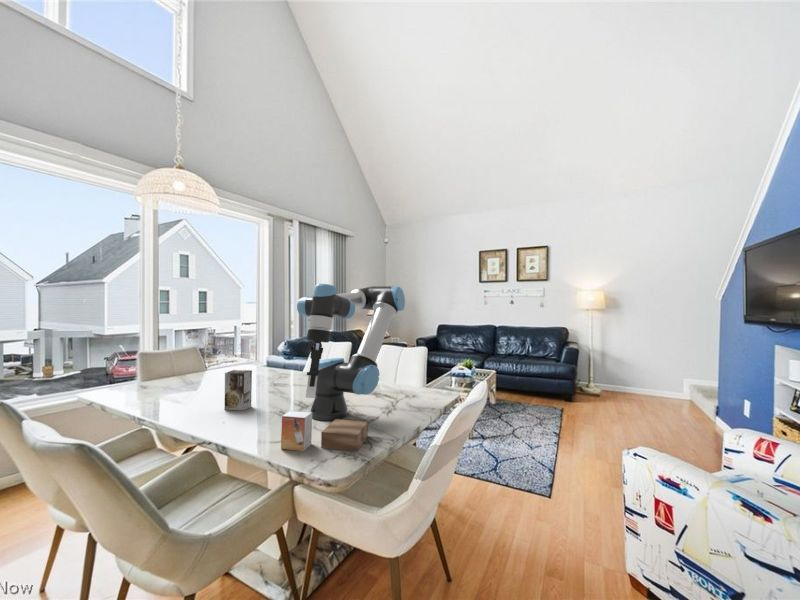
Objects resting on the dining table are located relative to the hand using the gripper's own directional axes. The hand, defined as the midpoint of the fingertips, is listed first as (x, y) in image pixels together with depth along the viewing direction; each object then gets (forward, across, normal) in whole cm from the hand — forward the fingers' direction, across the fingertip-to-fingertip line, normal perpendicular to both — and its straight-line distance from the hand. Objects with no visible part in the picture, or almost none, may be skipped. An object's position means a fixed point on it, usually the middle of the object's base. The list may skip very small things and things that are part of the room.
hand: (310, 395), depth 104 cm
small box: (+17, -4, -2) cm, 17 cm away
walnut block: (+15, -4, +14) cm, 20 cm away
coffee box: (+13, -49, -30) cm, 59 cm away
